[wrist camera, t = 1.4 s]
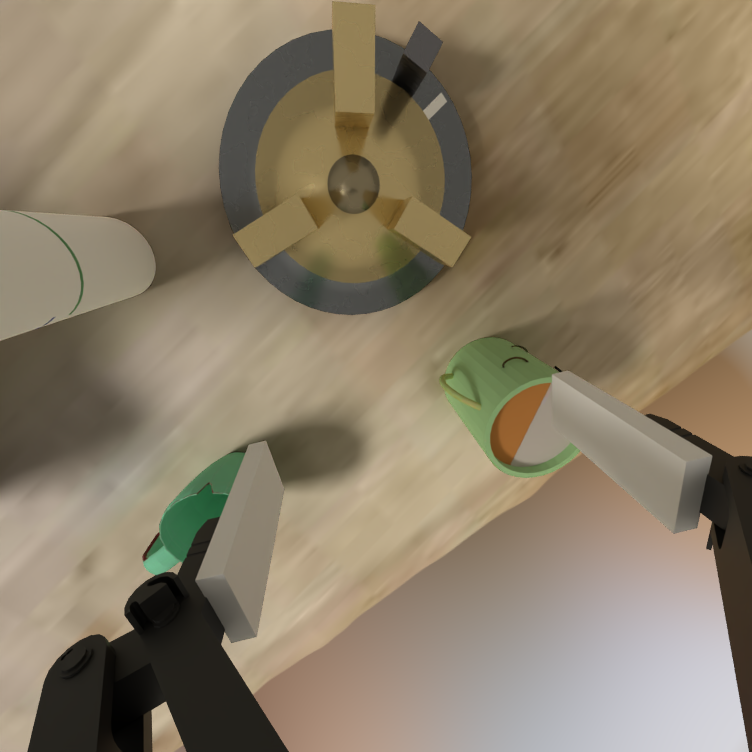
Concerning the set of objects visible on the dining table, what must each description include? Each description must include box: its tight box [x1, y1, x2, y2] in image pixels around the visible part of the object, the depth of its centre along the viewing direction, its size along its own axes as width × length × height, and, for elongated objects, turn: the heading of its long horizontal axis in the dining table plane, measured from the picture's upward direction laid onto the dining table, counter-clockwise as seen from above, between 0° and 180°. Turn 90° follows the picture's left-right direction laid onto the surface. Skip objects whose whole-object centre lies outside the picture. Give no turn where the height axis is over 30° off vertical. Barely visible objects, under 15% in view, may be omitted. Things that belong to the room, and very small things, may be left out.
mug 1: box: [142, 452, 245, 575], centre depth 39 cm, size 15×10×10 cm
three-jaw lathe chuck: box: [233, 1, 471, 283], centre depth 28 cm, size 17×18×6 cm
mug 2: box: [439, 337, 580, 478], centre depth 36 cm, size 13×10×12 cm
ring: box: [219, 21, 472, 315], centre depth 30 cm, size 22×22×7 cm
